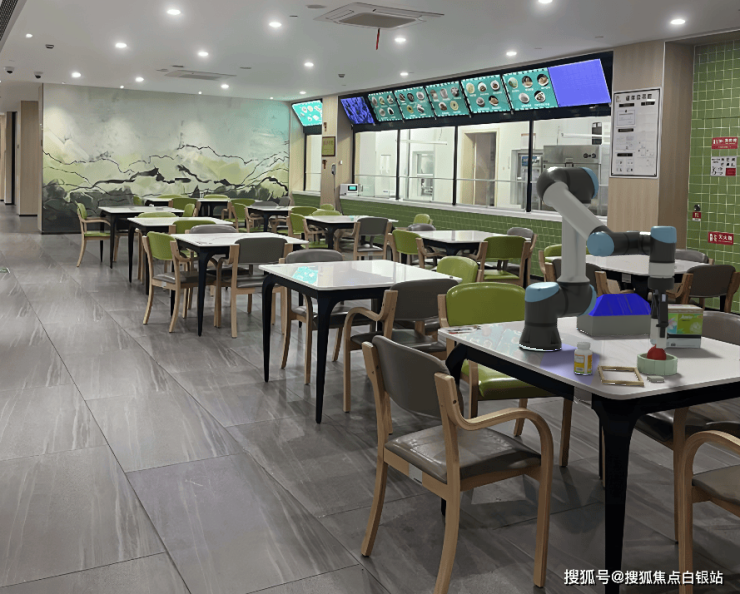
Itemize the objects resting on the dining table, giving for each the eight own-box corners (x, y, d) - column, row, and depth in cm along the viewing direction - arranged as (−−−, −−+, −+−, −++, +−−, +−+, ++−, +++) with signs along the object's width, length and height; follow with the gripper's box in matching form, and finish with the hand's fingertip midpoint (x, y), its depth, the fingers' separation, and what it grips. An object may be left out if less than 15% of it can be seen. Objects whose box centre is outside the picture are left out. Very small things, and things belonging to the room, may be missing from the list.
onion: (649, 362, 233) (651, 339, 231) (668, 365, 229) (669, 342, 227) (643, 368, 229) (645, 344, 226) (662, 371, 225) (664, 347, 223)
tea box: (659, 348, 261) (661, 308, 258) (649, 342, 270) (651, 303, 268) (701, 348, 260) (704, 307, 258) (690, 342, 270) (692, 303, 268)
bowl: (639, 374, 224) (639, 359, 224) (634, 365, 236) (635, 351, 235) (679, 376, 222) (680, 361, 221) (673, 367, 233) (673, 353, 232)
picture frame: (602, 384, 213) (602, 380, 213) (597, 369, 231) (597, 365, 231) (643, 386, 211) (643, 382, 210) (636, 370, 228) (636, 367, 228)
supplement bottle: (588, 371, 229) (589, 341, 227) (594, 375, 223) (595, 344, 222) (571, 371, 228) (572, 341, 227) (576, 375, 223) (577, 344, 222)
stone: (651, 383, 215) (651, 378, 215) (646, 380, 218) (647, 375, 218) (664, 383, 215) (664, 378, 215) (659, 380, 218) (660, 375, 218)
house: (633, 327, 302) (635, 290, 299) (652, 335, 286) (654, 295, 283) (575, 329, 299) (576, 291, 297) (591, 336, 283) (592, 297, 281)
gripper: (681, 281, 211) (677, 352, 215) (667, 272, 235) (664, 336, 239) (654, 280, 213) (650, 351, 216) (643, 271, 237) (640, 335, 240)
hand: (657, 343), depth 227 cm, fingers open, 13 cm apart
